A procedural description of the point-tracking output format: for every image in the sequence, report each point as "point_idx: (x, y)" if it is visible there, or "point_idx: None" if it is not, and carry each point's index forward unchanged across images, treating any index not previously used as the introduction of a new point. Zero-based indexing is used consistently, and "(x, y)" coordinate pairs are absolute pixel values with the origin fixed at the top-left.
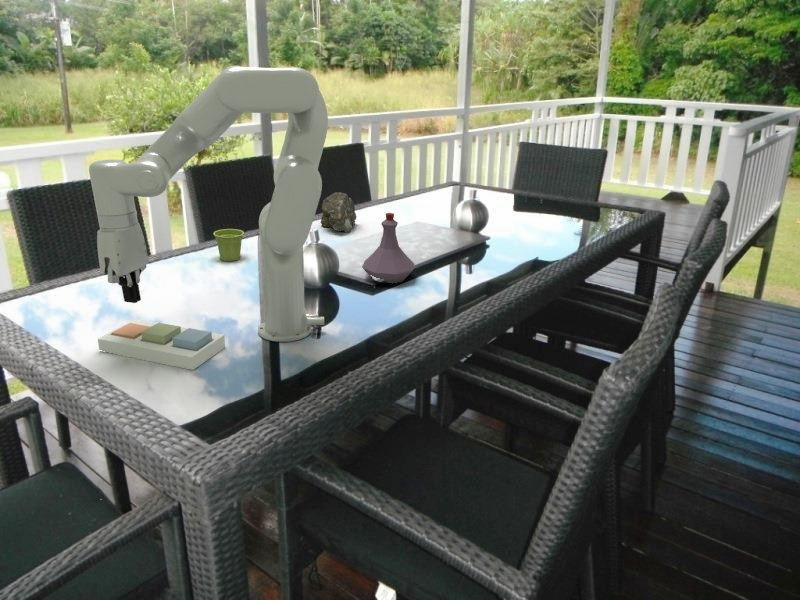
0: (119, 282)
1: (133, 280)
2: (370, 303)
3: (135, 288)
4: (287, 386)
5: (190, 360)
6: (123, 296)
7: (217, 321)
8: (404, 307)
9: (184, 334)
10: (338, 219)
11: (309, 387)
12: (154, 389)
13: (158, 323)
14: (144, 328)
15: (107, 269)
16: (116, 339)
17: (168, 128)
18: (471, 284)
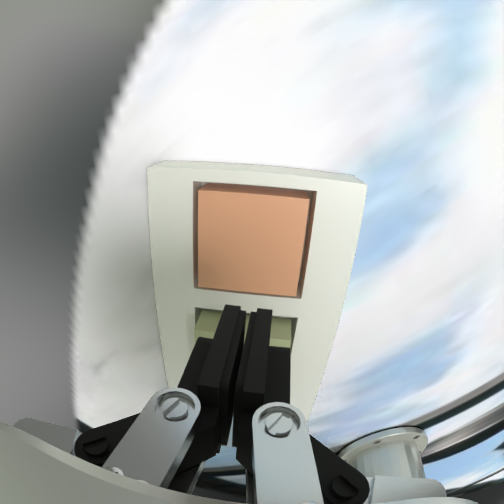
0: (122, 435)
1: (243, 465)
2: (470, 461)
3: (228, 433)
4: (203, 479)
5: None
6: (220, 319)
7: (438, 351)
8: (449, 481)
9: (232, 421)
10: None
11: (212, 489)
12: (99, 374)
13: (283, 343)
14: (274, 284)
15: (4, 482)
16: (168, 235)
17: None
18: (491, 478)
